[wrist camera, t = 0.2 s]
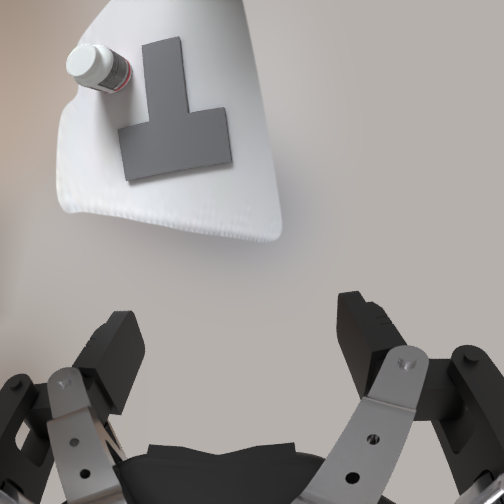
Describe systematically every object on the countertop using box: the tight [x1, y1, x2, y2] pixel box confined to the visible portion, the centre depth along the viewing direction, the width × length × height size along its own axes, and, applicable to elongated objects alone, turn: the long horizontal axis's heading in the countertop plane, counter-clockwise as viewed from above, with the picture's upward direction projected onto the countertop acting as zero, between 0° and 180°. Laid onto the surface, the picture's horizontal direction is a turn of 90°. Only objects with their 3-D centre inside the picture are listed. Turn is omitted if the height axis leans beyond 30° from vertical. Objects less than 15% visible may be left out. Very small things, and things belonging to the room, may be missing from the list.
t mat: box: [118, 36, 232, 181], centre depth 34 cm, size 18×14×1 cm
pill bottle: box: [66, 44, 132, 93], centre depth 28 cm, size 5×5×10 cm
